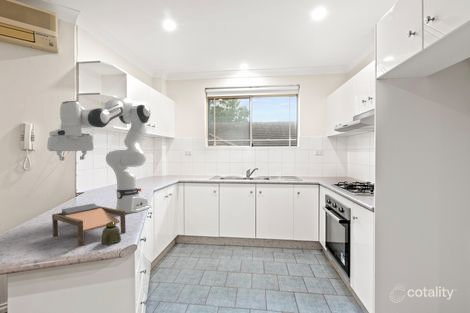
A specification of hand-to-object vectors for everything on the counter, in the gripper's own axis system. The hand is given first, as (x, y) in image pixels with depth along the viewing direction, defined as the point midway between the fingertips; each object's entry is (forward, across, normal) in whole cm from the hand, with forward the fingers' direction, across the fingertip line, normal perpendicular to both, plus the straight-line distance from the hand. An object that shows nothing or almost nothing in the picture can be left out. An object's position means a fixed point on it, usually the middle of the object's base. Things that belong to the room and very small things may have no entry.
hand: (72, 160), depth 127 cm
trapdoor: (+27, +3, +21) cm, 34 cm away
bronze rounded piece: (+26, +4, +39) cm, 47 cm away
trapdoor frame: (+34, +3, +21) cm, 40 cm away
